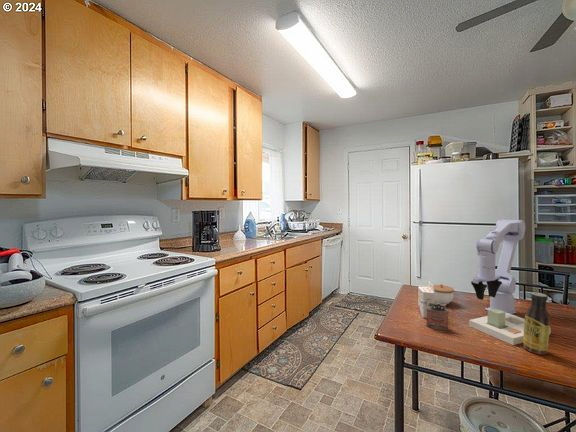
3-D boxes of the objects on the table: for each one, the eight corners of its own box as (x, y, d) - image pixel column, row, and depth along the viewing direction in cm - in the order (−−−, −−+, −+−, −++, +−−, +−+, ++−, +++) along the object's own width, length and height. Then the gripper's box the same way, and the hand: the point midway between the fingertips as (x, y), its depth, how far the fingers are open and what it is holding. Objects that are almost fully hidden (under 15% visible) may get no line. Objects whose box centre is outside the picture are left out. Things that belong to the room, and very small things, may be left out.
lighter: (447, 326, 109) (447, 302, 109) (449, 330, 106) (449, 305, 105) (425, 324, 112) (425, 300, 111) (426, 327, 108) (427, 303, 108)
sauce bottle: (518, 346, 94) (519, 290, 93) (534, 345, 94) (536, 290, 93) (536, 357, 87) (539, 297, 86) (554, 355, 88) (556, 296, 87)
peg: (494, 327, 108) (494, 308, 107) (504, 332, 104) (505, 312, 104) (487, 329, 106) (487, 309, 106) (498, 333, 103) (498, 313, 102)
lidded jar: (458, 306, 130) (458, 287, 129) (436, 306, 130) (436, 287, 129) (445, 298, 140) (446, 281, 140) (425, 299, 141) (425, 281, 140)
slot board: (504, 317, 117) (504, 311, 117) (550, 334, 102) (550, 327, 102) (469, 326, 109) (469, 319, 109) (513, 345, 94) (513, 337, 94)
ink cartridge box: (417, 310, 126) (417, 279, 125) (428, 311, 125) (429, 280, 124) (422, 318, 117) (423, 285, 117) (435, 319, 116) (435, 285, 116)
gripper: (488, 263, 121) (487, 292, 122) (465, 266, 116) (465, 296, 117) (505, 266, 114) (504, 297, 115) (482, 270, 109) (481, 302, 110)
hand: (486, 297), depth 115 cm, fingers open, 7 cm apart
